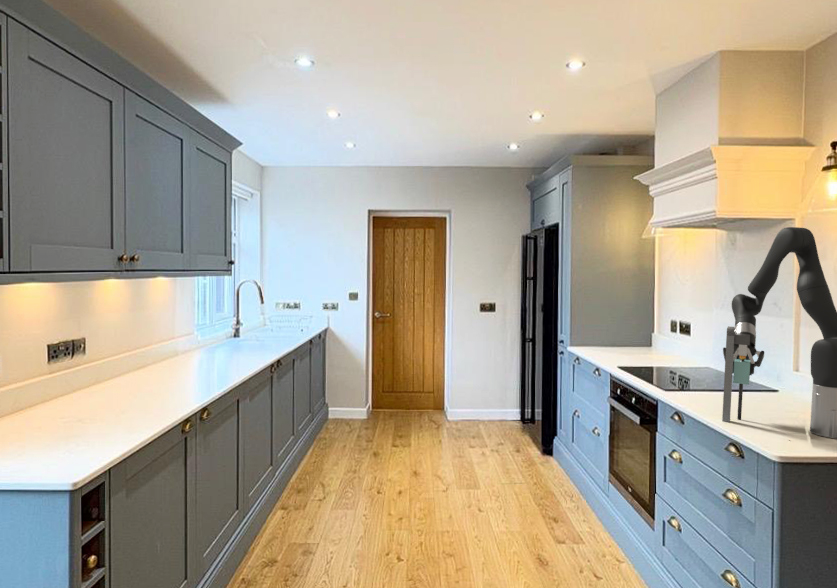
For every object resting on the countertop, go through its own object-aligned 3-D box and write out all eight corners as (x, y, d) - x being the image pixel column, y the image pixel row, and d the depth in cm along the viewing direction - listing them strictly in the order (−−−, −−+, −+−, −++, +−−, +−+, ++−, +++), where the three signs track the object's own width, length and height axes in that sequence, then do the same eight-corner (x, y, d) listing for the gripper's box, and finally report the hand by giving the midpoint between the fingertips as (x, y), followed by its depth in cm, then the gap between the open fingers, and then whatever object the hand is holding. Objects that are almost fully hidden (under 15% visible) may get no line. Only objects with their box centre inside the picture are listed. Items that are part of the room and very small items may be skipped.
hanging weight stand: (723, 419, 212) (728, 326, 210) (745, 422, 209) (750, 327, 206) (722, 424, 206) (726, 328, 204) (744, 427, 202) (750, 330, 200)
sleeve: (733, 379, 213) (735, 358, 212) (749, 381, 210) (750, 360, 210) (733, 382, 207) (734, 361, 207) (748, 384, 205) (750, 362, 204)
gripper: (723, 329, 218) (719, 365, 209) (766, 332, 211) (765, 369, 202) (723, 341, 223) (719, 376, 214) (765, 344, 216) (764, 381, 206)
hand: (741, 372), depth 208 cm, fingers closed on sleeve, 5 cm apart
